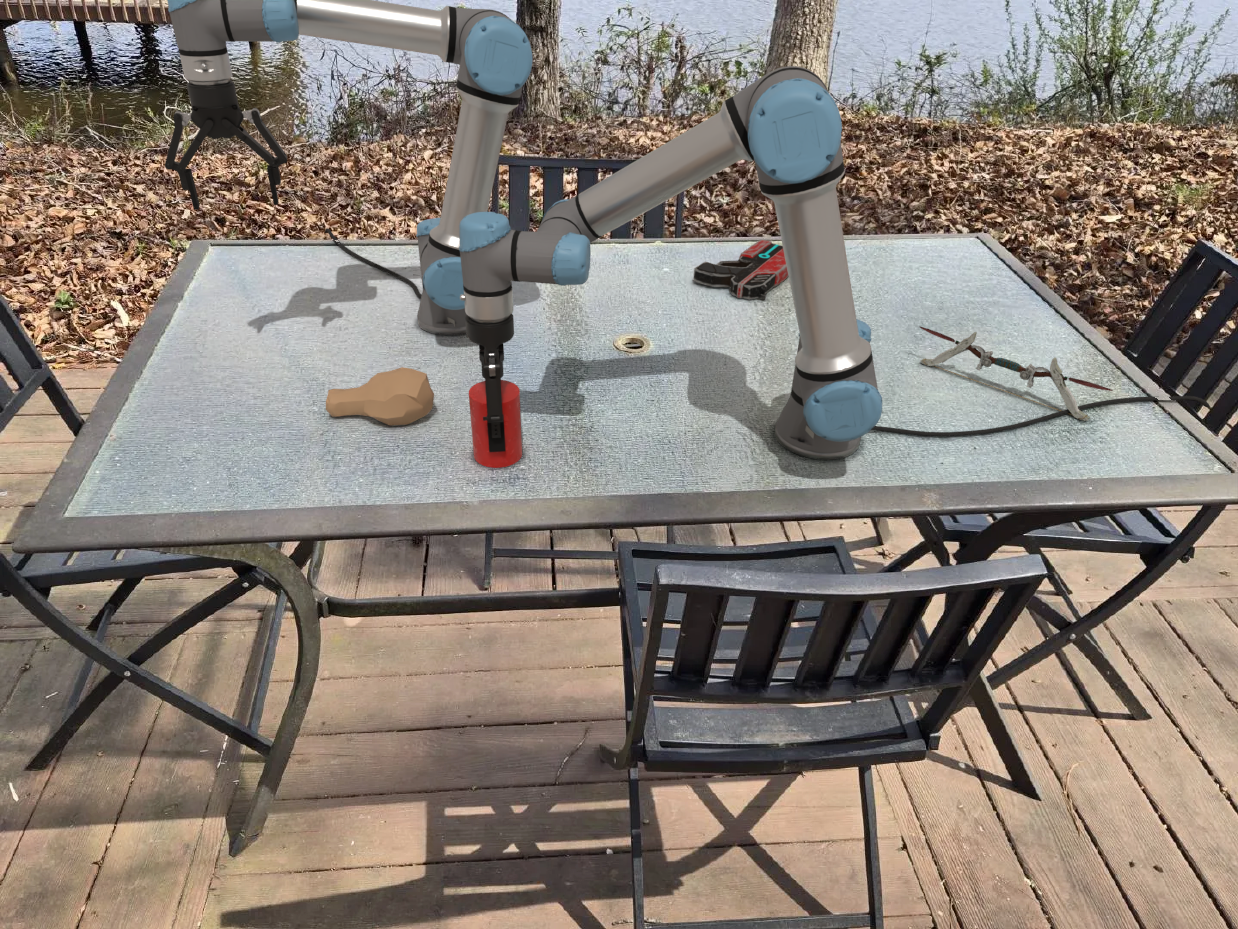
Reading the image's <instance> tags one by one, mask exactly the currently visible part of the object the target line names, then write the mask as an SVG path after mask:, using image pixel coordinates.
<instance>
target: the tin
mask: <svg viewBox="0 0 1238 929" xmlns="http://www.w3.org/2000/svg"><path fill="white" fill-rule="evenodd" d="M501 395H502V413H503V415H504V433H505V451H504V452H489V442H488V427H487V421H483V417H487V403H486V387H485V380H482V381H479V382H476V383H475V384H473V385H472V386H471V387H470V388H469V390H468V401H469V415H470V427H471V439H472V453H473V459H474V460H475V462H476V463H477V464H479V465H481V466H483V467H486V468H493V469H502V468H507V467H510V466H513V465H515V464H517V463H518V462H519V461H520V460H521V459H522V457H523V435H522V433H523V432H522V412H521V411H522V409H521V390H520V387H519V386H518V385H517V384H515V383H514V382H512V381H510V380H505V379H501Z"/></svg>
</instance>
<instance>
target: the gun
mask: <svg viewBox="0 0 1238 929" xmlns="http://www.w3.org/2000/svg"><path fill="white" fill-rule="evenodd" d="M788 278H789V276H788V271H787V266H786V261H785V256H784V250H783V245H782V244H781V245H780V244H776V243H772V240H767V239H759V240H757V241H756V242H754V243H753V244H752V245H750V246H749V247H748V248H746V249H745V250H743V251H741V253H740V255H739V256H738V260H736V259H735V260H720V261H719V262H717V263H712V262H709V261H706V260H705V261H704V262H702V263H701V264H699V265H697V266H696V267H693V279H692V281H694V282H696V283H697V284H702V285H703V286H708V287H713V288H714V287H715V288H729V293H730V294H731V295H732V296H735V297H736V298H737V299H744V300H745V299H746V300H754V299H759V300H762V301H765V300H766V297H767V293H768V292H770V291H771V290H772V289H774V288H776V287H778V286H780V284H781V283H782V282H784V281H785V280H786V279H788Z"/></svg>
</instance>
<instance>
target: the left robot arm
mask: <svg viewBox="0 0 1238 929" xmlns="http://www.w3.org/2000/svg"><path fill="white" fill-rule="evenodd" d="M166 1H167V6H168V9H167V10H168V13H169V18H170V21H171V24H172V29H173V32H174V37H175V41H176V43H177V48H178V54H179V58H180V62H181V63H180V64H181V67H182V72H183V76H184V79H186V80H187V81H188V82H187V84H186V90H187V94H188V97H189V102H190V106H191V112H182V111H181V110H180V109H179V110H176V111H175V112H174V114H173V124H174V128H173V132H172V136H171V140H170V144H169V147H168V150H167V155H166V159H165V162H164V168H165V169H166V170H172V171H175V172H176V173H177V175H178V177H179V181H180V185H181V189H182V191H188V192H189V196H190V199H191V203H192V207H193V210H194V211H198V210H199V209H200V206H201V204H200V201H199V200H200V199H199V196H198V192H197V187H196V184H195V179H194V175H193V171H192V168H188V166H189V164H190V163H191V161H192V159H193V158H194V156H195V155H196V154H197V152H198V150H199V149H200V146H201V145H202V143H203V142H204V140H205V139H206V137H208V138H210V139H212V140H218V139H226V140H227V139H232V138H234V137H237V138H238V139H239V140H240V141H241V142H243V144H245V145H247V147H248V148H250V150H252V151H253V152H254V153H255V154H256V155H258V156H259V157H260V158H261V159H262V160H263V161H264V162H265V163H266V164H267V165H266V172H267V177H268V181H269V182H268V183H269V186H270V187H269V188H270V193H271V197H272V202H273V206H278V205H279V195H278V190H277V186H281V183H282V179H281V173H280V166H281V165H283V164H287V162H288V155H287V153H286V152H285V151H284V149H283V148H282V146H281V145H280V143H279V142H278V140H277V139H276V138H275V137H274V135H273V134H272V133H271V131H270V129H269V128H268V126H267V125H266V124H265V122H264V121H263V119H262V115H261V113H260V110H259V108H257V107H253V108H251V109H248V110H242V109H241V108H240V105H239V101H238V100H239V99H238V95H237V91H236V84H235V82H233V80H231V79H232V77H234V75H233V70H232V65H231V61H230V55H229V52H228V47H227V43H229V42H230V43H236V42H245V43H246V42H249V43H250V42H255V43H256V42H257V43H258V42H262V43H263V42H264V43H266V42H268V43H269V42H271V43H273V42H274V43H277V44H280V43H282V42H293V41H296V40H298V38H299V37H300V36H305V37H306V36H307V37H313V38H319V39H326V40H332V41H340V42H348V43H353V44H358V45H359V44H361V45H367V46H372V47H379V48H387V49H392V50H393V49H394V50H398V51H399V50H400V51H407V52H414V53H419V54H426V55H434V56H438V57H439V58H440V59H441V61H443V63H449V64H453V65H454V64H455V65H458V66H459V67H458V68H459V69H458V73H457V78H456V85H455V90H456V91H457V93H458V94H459V96H460V98H461V103H460V104H461V105H460V110H459V114H458V115H459V116H458V120H457V125H456V126H457V127H456V132H455V137H454V142H453V148H452V154H451V159H450V165H449V169H448V174H447V181H446V186H445V191H444V196H443V202H442V207H441V213H440V217H433V218H427V219H424V220H421V221H419V222H418V223H417V225H416V235H415V236H416V239H417V245H418V246H417V247H418V258H419V264H420V266H419V267H420V275H421V276H420V277H421V284H422V292H421V293H420V290H419V288H418V286H417V284H416V283H414V281H412V280H410V279H409V278H407V277H406V276H403V275H401V274H400V273H397V272H395V271H393V270H391V269H389V268H386V267H385V266H382V265H380V264H378V263H376V262H374V261H371V260H369V259H368V258H366V257H363V256H362V255H360V254H358V253H356V252H354V251H353V250H351V249H349V247H346V246H345V245H344V244H343V243H342V242H340V241H339V239H338V238H337V237H336V236H335V234H334V233H333V232H332V230H331V229H330V228H328V227H327V228H325V230H324V234H328V236H329V237H330V238H331V239H332V240H333V241H334V240H338V241H339V242H336V241H334V242H335V244H336V245H337V246H338V247H339V248H340V249H341V250H343V251H344V252H346V253H347V254H349V255H350V256H351V257H353V258H356V259H357V260H359V261H361V262H362V263H364V264H367V265H369V266H372V267H374V268H376V269H377V270H379V271H382V272H385V273H387V274H388V275H391V276H392V277H394V278H397V279H399V280H400V281H402V282H404V283H406V284H407V285H409V286H411V288H412V289H413V291H414V293H415V295H416V297H417V298H419V299H420V302H419V305H418V310H417V315H416V318H417V325H418V326H419V328H420V329H421V330H423V331H424V332H427V333H430V334H433V335H440V336H459V335H465V334H467V332H466V319H465V318H466V315H467V314H466V312H465V301H462V300H460V295H462V294H464V289H463V277H462V267H461V257H460V250H459V247H460V231H459V225H460V222H461V220H462V219H463V218H464V217H465V216H467V215H469V214H472V213H477V212H489V206H490V202H491V196H492V192H493V188H494V183H495V178H496V173H497V168H498V164H499V158H500V154H501V150H502V144H503V140H504V135H505V131H506V126H507V121H508V116H509V113H510V112H511V111H513V110H514V109H517V107H519V105H520V100H521V96H522V92H523V91H522V90H523V86H524V85H525V84H526V82H527V80H528V78H529V76H530V74H531V72H532V67H533V51H532V46H531V43H530V40H529V38H528V35H527V34H526V32H525V31H524V29H522V27H521V26H520V25H519V24H518V23H516V21H514V20H512V19H511V18H510V17H509V16H508V15H506V14H505V13H503V12H501V11H499V10H495V9H489V8H468V7H457V6H451V5H446V6H444V7H443V8H442V9H441V10H437V9H430V8H424V7H417V6H411V5H405V4H398V3H393V2H386V1H380V0H166ZM244 119H246V120H248V122H249V123H250V124H252V125H253V124H254V126H255V128H256V130H257V131H258V133H259V134H260V135H261V137H262V138H263V139H264V141H265V142H266V144H267V145H268V146H269V148H270V149H271V151H272V152H273V153H274V155H275V156H274V155H273V154H272V153H271V152H269V150H267V149H266V148H265V146H263V145H262V144H261V143H260V142H259V141H258V140H256V139H255V138H254V137H253V135H251V134H250V133H249V132H248V131H247V130H246V129H245V127H243V126H242V123H243V121H244ZM190 121H192V123H193V124H194V125H195V126H196V127H197V128H198V129H199V130H198V132H197V133H196V135H195V136H194V138H193V140H192V141H191V143H190V144H189V146H188V147H187V150H186V151H185V153H184V154H183V155H182V157H181V159H180V161H177V160H176V158H177V153H178V150H179V146H180V142H181V139H182V137H183V136H182V135H183V131H184V127H186V126H188V125H189V122H190ZM338 243H340V244H338ZM341 243H342V244H341Z"/></svg>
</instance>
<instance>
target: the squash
mask: <svg viewBox="0 0 1238 929" xmlns="http://www.w3.org/2000/svg"><path fill="white" fill-rule="evenodd" d="M434 399H435V393H434V390H433V389H432V387H431V384H430V381H429V377H428V373H426V372H423V371H420V370H417V369H414V368H409V367H405V366H404V367H403V366H401V367H398V368H394V369H392V370H387V371H381V372H377V373H376V374H374V375H372V377H370V378H369V380H368V381H367V382H366V383H363V384H362V385H360V386H359V387H349V388H332V389H328V391H327V396H326V399H325V411H326V412H327V413H328V414H329V415H330V416H331V417H332V418H336V417H343V416H356V415H357V416H358V415H360V416H364V417H370V418H372V419H374V420H376V421H379V422H380V423H383V424H385V425H388V426H389V427H390V426H405V425H406V426H407V425H410V424H412V423H414V422H416V421H418V420H420V419H422V418H424V417H426V416H427V415H429V413H431V411H432V410H433V409H434Z"/></svg>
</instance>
